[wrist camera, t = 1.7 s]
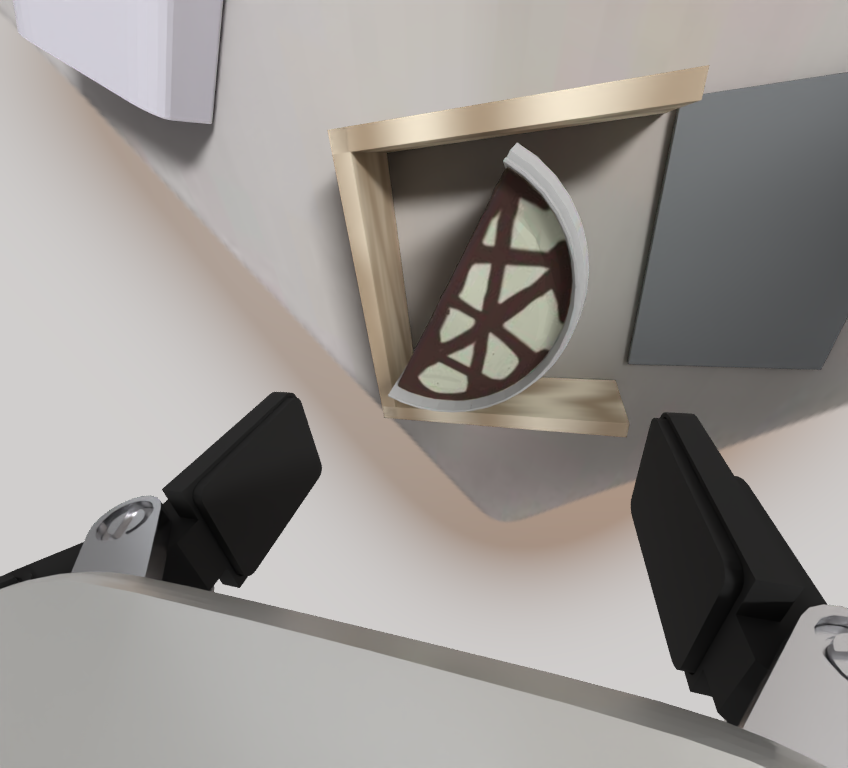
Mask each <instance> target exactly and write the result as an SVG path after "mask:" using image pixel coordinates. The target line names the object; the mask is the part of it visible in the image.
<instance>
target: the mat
mask: <svg viewBox="0 0 848 768" xmlns="http://www.w3.org/2000/svg"><path fill="white" fill-rule="evenodd" d="M847 317H848V72H846V73H839V74H833V75H826V76H819V77H813V78H806V79H799V80H793V81H786V82H780V83H773V84H766V85H760V86H753V87H747V88H740V89H733V90H727V91H720V92H714V93H707V94H703V96H702V100H700V101H698V102H695V103H692V104H689V105H686V106H684V107H681V108H678V109H677V112H676V117H675V122H674V128H673V133H672V138H671V143H670V148H669V153H668V158H667V163H666V168H665V173H664V178H663V183H662V188H661V193H660V198H659V203H658V209H657V214H656V219H655V224H654V229H653V234H652V239H651V244H650V249H649V254H648V259H647V264H646V269H645V274H644V279H643V285H642V290H641V295H640V300H639V305H638V310H637V315H636V320H635V325H634V330H633V335H632V340H631V345H630V350H629V355H628V360H627V362H628V364H642V365H676V366H711V367H745V368H779V369H813V370H821V369H822V367H823V365H824V363H825V361H826V359H827V357H828V355H829V353H830V351H831V349H832V347H833V345H834V343H835V341H836V339H837V337H838V335H839V333H840V331H841V329H842V327H843V325H844V323H845V321H846V319H847Z"/></svg>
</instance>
